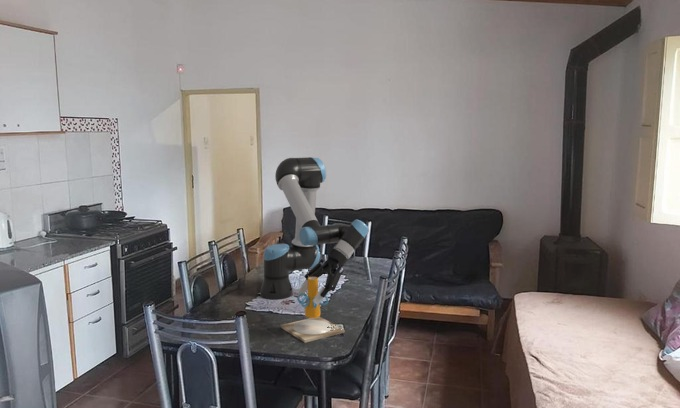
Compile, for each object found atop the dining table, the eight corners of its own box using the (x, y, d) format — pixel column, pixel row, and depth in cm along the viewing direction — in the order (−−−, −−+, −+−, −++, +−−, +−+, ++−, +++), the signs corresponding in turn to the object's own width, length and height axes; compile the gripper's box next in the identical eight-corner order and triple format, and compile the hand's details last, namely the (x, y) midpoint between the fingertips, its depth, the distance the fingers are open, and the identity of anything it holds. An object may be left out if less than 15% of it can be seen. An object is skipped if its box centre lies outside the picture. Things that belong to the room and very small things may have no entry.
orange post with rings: (313, 308, 213) (314, 272, 211) (333, 314, 206) (333, 277, 204) (291, 316, 204) (291, 278, 202) (311, 323, 197) (311, 284, 195)
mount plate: (280, 327, 208) (280, 324, 208) (319, 318, 218) (319, 315, 218) (304, 342, 194) (304, 339, 193) (344, 332, 204) (344, 329, 204)
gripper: (363, 265, 202) (329, 312, 195) (329, 254, 220) (297, 296, 213) (353, 254, 198) (317, 301, 191) (318, 242, 217) (285, 285, 210)
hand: (306, 298), depth 202 cm, fingers closed on orange post with rings, 11 cm apart
